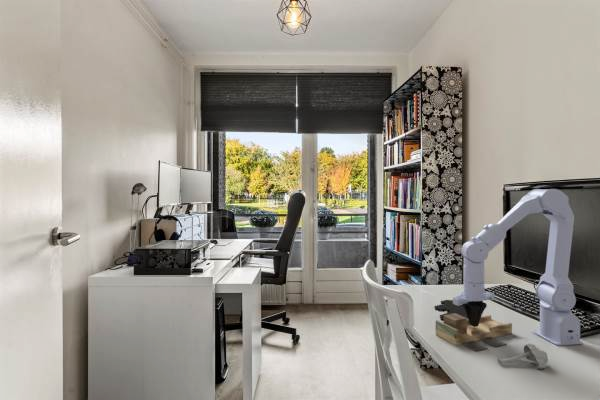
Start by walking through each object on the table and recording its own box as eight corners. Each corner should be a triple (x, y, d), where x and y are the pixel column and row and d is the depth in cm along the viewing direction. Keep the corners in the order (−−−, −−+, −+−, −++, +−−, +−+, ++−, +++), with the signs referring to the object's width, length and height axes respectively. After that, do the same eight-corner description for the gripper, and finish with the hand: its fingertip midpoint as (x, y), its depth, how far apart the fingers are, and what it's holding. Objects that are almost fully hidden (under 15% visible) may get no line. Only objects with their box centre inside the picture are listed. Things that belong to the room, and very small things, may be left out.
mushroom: (491, 345, 90) (537, 338, 90) (491, 360, 92) (536, 353, 92) (508, 364, 84) (557, 357, 84) (508, 380, 85) (556, 372, 85)
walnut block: (455, 327, 107) (455, 313, 107) (466, 333, 103) (466, 318, 102) (443, 329, 105) (443, 315, 105) (454, 335, 101) (454, 320, 101)
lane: (489, 323, 114) (489, 310, 114) (527, 339, 102) (528, 325, 102) (435, 334, 106) (435, 320, 106) (470, 353, 94) (470, 337, 94)
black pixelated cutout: (497, 335, 106) (476, 304, 134) (497, 332, 106) (476, 301, 134) (440, 330, 110) (432, 301, 139) (440, 327, 110) (432, 298, 139)
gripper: (480, 275, 112) (480, 317, 113) (445, 280, 107) (445, 324, 108) (500, 281, 106) (500, 325, 106) (463, 286, 101) (463, 332, 101)
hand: (473, 325), depth 106 cm, fingers closed
